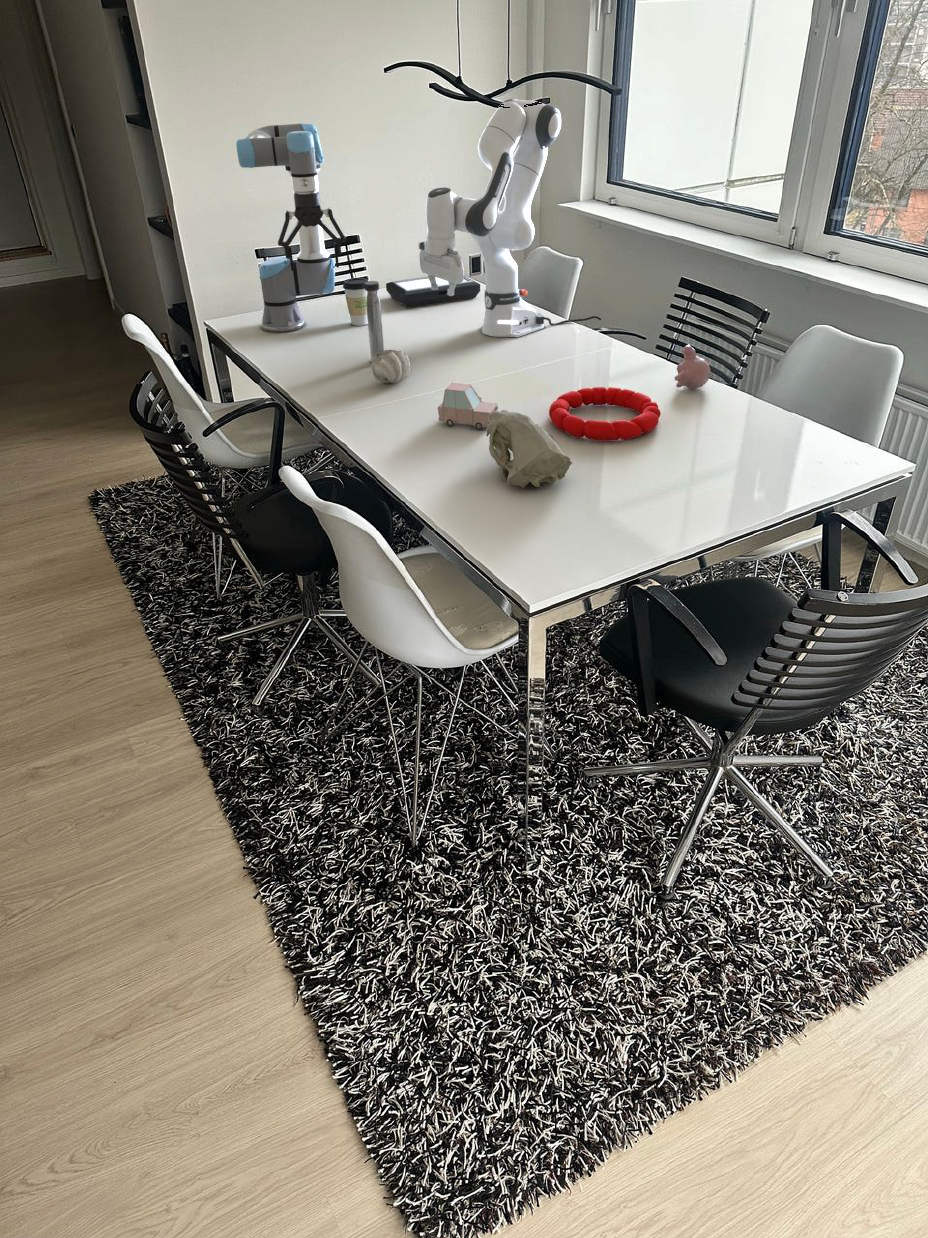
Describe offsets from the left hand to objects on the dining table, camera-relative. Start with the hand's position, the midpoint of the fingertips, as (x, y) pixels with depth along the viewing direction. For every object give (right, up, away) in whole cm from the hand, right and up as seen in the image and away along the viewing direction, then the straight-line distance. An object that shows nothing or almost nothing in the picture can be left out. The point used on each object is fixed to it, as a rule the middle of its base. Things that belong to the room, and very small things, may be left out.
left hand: (315, 268), depth 271 cm
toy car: (+47, -53, -26) cm, 75 cm away
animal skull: (+59, -70, -51) cm, 105 cm away
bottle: (+17, -23, +20) cm, 35 cm away
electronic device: (+33, +20, +81) cm, 90 cm away
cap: (+17, -2, +6) cm, 18 cm away
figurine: (+112, -39, -9) cm, 119 cm away
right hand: (+39, -3, +12) cm, 41 cm away
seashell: (+24, -34, +3) cm, 42 cm away
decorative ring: (+84, -53, -27) cm, 103 cm away
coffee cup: (+7, +2, +56) cm, 56 cm away
